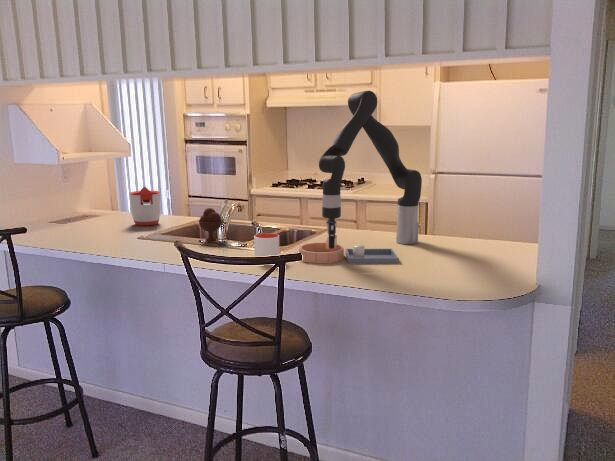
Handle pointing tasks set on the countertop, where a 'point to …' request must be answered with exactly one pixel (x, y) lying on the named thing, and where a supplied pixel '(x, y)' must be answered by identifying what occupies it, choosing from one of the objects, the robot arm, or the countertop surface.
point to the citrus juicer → (145, 207)
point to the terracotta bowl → (321, 253)
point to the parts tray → (373, 256)
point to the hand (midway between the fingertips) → (331, 246)
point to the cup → (266, 244)
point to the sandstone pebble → (328, 242)
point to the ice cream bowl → (210, 223)
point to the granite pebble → (358, 251)
